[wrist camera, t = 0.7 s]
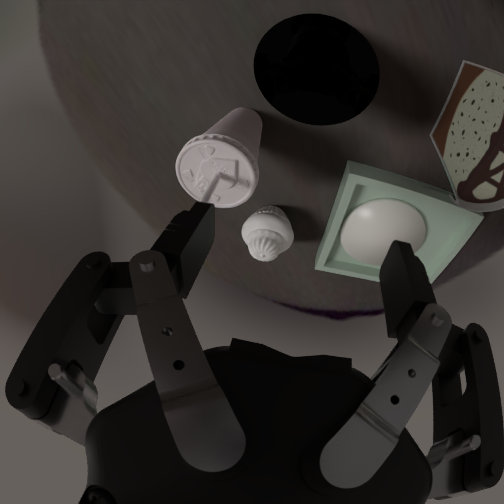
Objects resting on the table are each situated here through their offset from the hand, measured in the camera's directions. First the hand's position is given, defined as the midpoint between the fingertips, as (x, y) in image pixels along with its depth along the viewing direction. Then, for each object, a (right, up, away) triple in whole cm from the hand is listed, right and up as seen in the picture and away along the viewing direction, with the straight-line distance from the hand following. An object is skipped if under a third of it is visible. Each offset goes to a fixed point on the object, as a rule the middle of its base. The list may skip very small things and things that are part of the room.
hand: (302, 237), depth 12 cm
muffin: (0, +4, +23) cm, 23 cm away
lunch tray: (+16, +2, +20) cm, 26 cm away
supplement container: (+3, +17, +6) cm, 18 cm away
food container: (+19, +13, +6) cm, 24 cm away
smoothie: (-3, +12, +14) cm, 19 cm away
